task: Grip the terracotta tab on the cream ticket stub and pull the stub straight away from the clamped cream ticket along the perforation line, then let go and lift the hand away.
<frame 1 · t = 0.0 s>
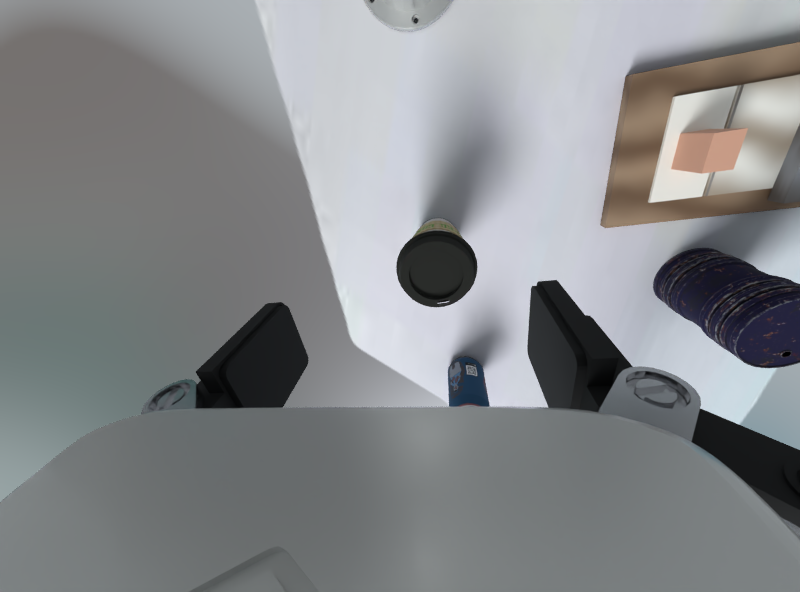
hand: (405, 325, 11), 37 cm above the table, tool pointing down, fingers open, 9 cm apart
ticket stub: (704, 150, 33), point 4 cm above the table, slide at 0.0 cm
storage jar: (688, 276, 45), on the table
coffee cup: (437, 236, 47), on the table
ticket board: (717, 143, 36), on the table
soda can: (464, 366, 59), on the table
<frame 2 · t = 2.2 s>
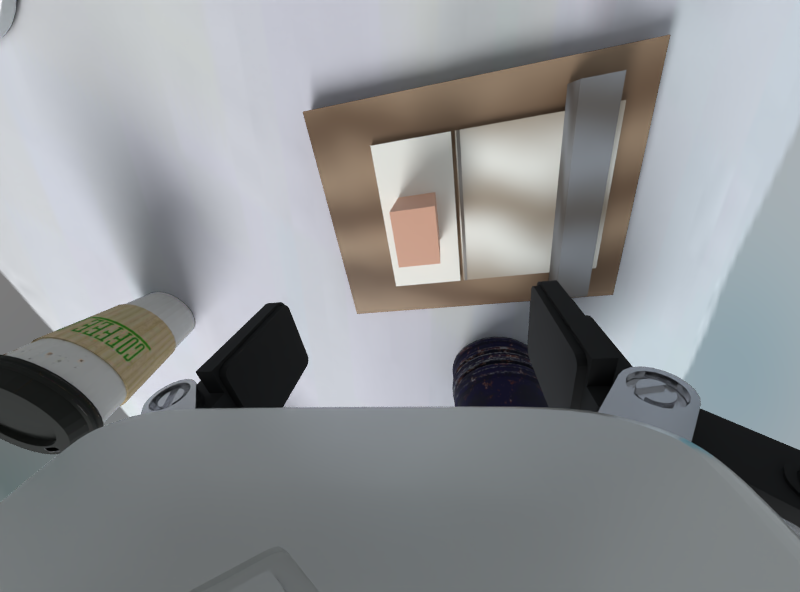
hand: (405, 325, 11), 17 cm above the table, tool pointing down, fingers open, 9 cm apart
ticket stub: (418, 227, 22), point 4 cm above the table, slide at 0.0 cm
storage jar: (494, 368, 34), on the table
coffee cup: (171, 313, 35), on the table
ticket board: (470, 207, 25), on the table
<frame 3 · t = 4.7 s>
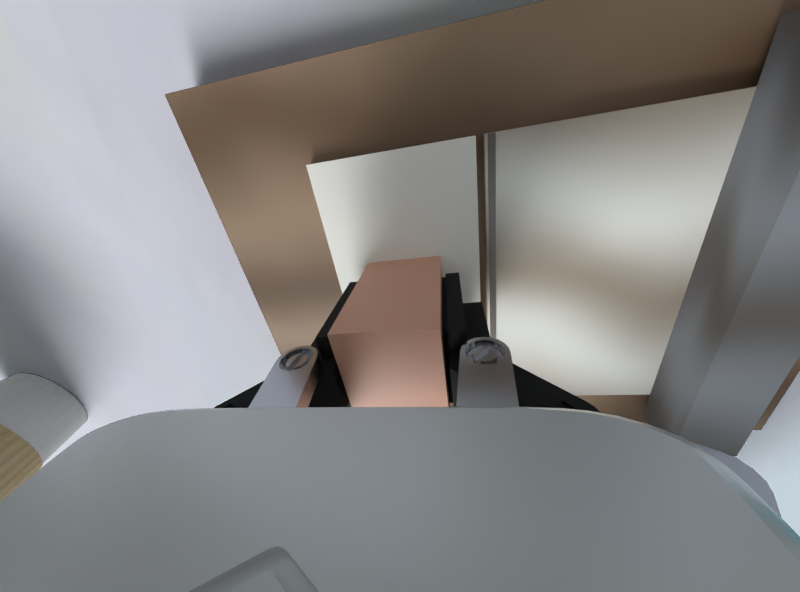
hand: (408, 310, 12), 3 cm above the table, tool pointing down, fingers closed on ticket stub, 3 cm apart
ticket stub: (404, 332, 11), point 4 cm above the table, slide at 0.0 cm, touching gripper
coffee cup: (52, 398, 24), on the table
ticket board: (504, 274, 14), on the table
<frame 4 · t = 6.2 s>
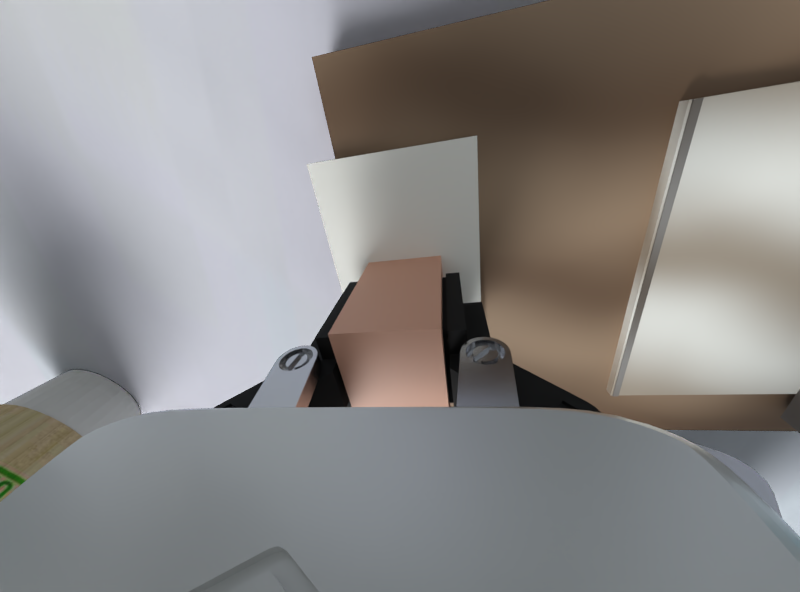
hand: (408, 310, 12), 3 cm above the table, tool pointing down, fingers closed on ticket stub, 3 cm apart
ticket stub: (404, 332, 11), point 4 cm above the table, slide at 5.7 cm, touching gripper
coffee cup: (104, 396, 23), on the table
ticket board: (639, 263, 13), on the table
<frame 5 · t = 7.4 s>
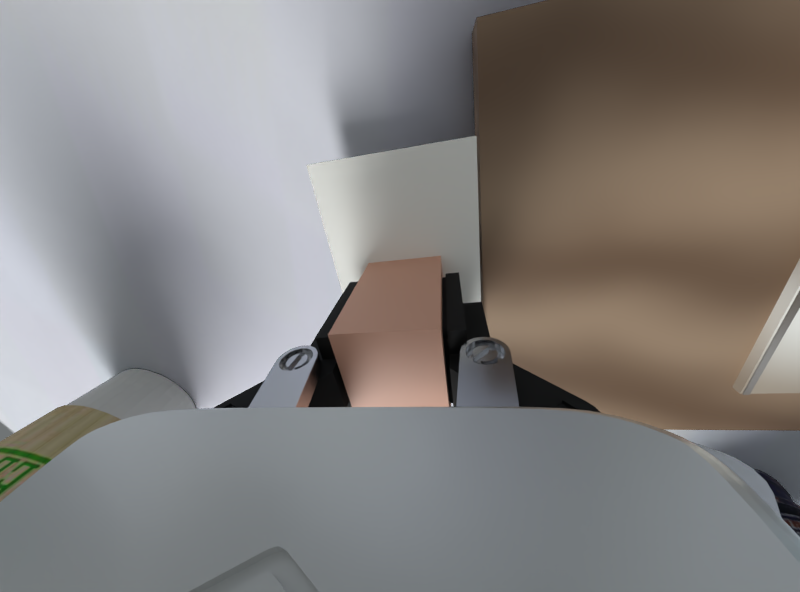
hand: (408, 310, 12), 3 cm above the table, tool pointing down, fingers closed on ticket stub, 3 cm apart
ticket stub: (404, 332, 11), point 4 cm above the table, slide at 10.8 cm, touching gripper
storage jar: (690, 501, 20), on the table
coffee cup: (159, 397, 22), on the table
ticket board: (785, 250, 12), on the table
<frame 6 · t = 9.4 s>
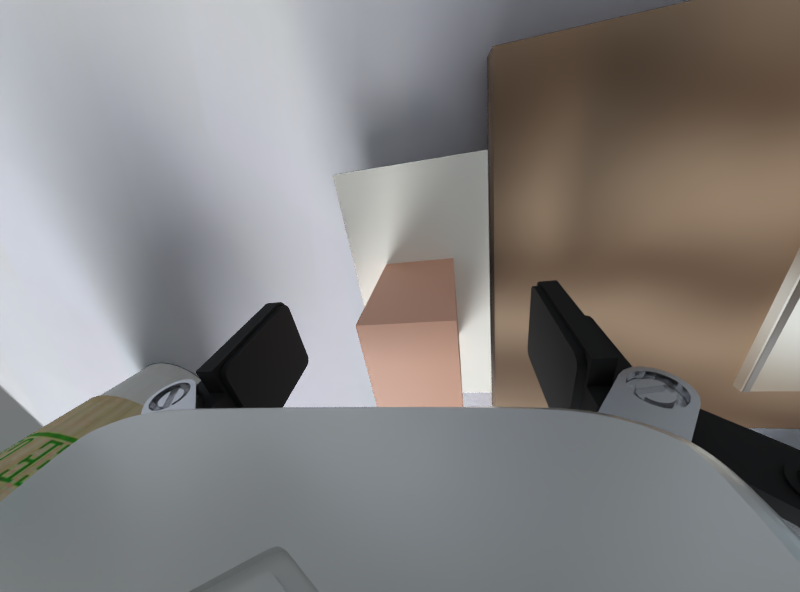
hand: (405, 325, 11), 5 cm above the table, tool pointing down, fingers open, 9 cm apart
ticket stub: (420, 327, 12), point 4 cm above the table, slide at 11.0 cm
coffee cup: (182, 391, 23), on the table
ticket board: (781, 255, 12), on the table
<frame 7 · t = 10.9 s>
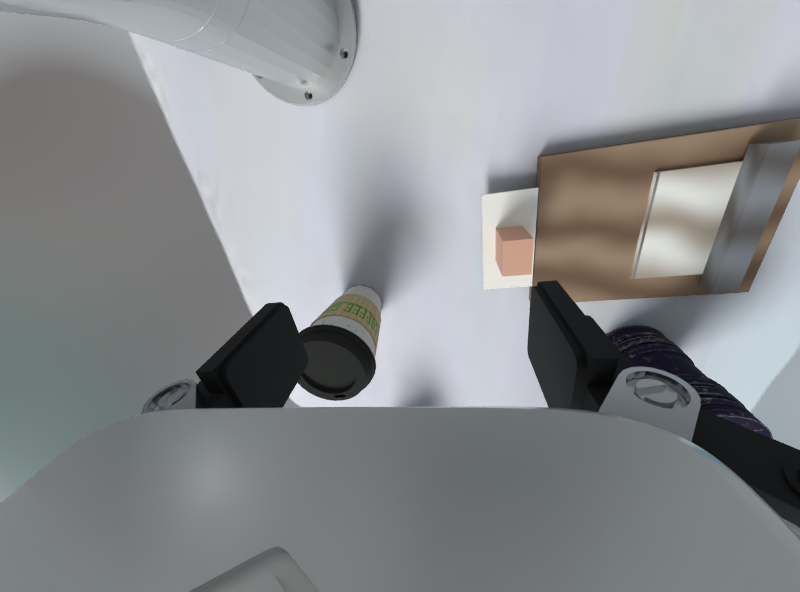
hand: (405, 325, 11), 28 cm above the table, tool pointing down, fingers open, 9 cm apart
ticket stub: (512, 249, 33), point 4 cm above the table, slide at 11.0 cm
storage jar: (627, 352, 42), on the table
coffee cup: (362, 302, 44), on the table
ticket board: (642, 224, 34), on the table
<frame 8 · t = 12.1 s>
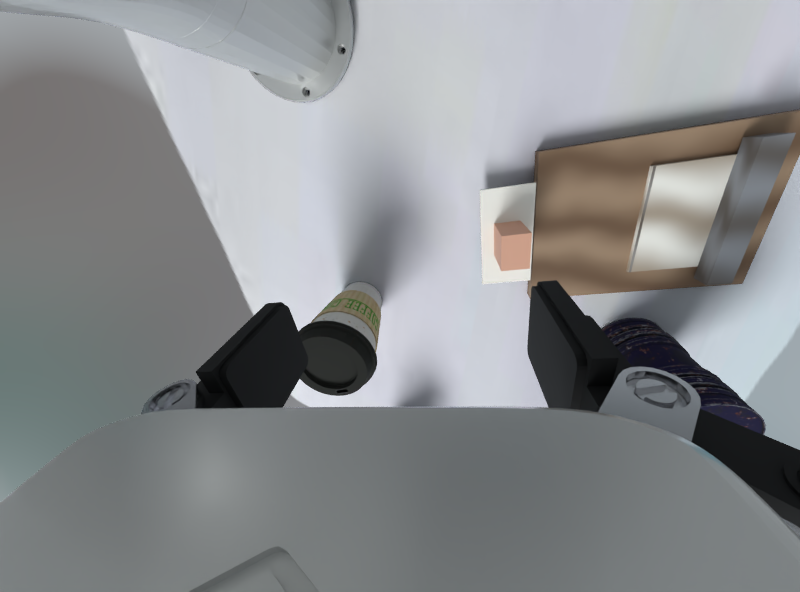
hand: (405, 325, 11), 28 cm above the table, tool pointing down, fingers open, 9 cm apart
ticket stub: (510, 244, 33), point 4 cm above the table, slide at 11.0 cm
storage jar: (624, 344, 43), on the table
coffee cup: (362, 299, 45), on the table
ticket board: (639, 218, 34), on the table
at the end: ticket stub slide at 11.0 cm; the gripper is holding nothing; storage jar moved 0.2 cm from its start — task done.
